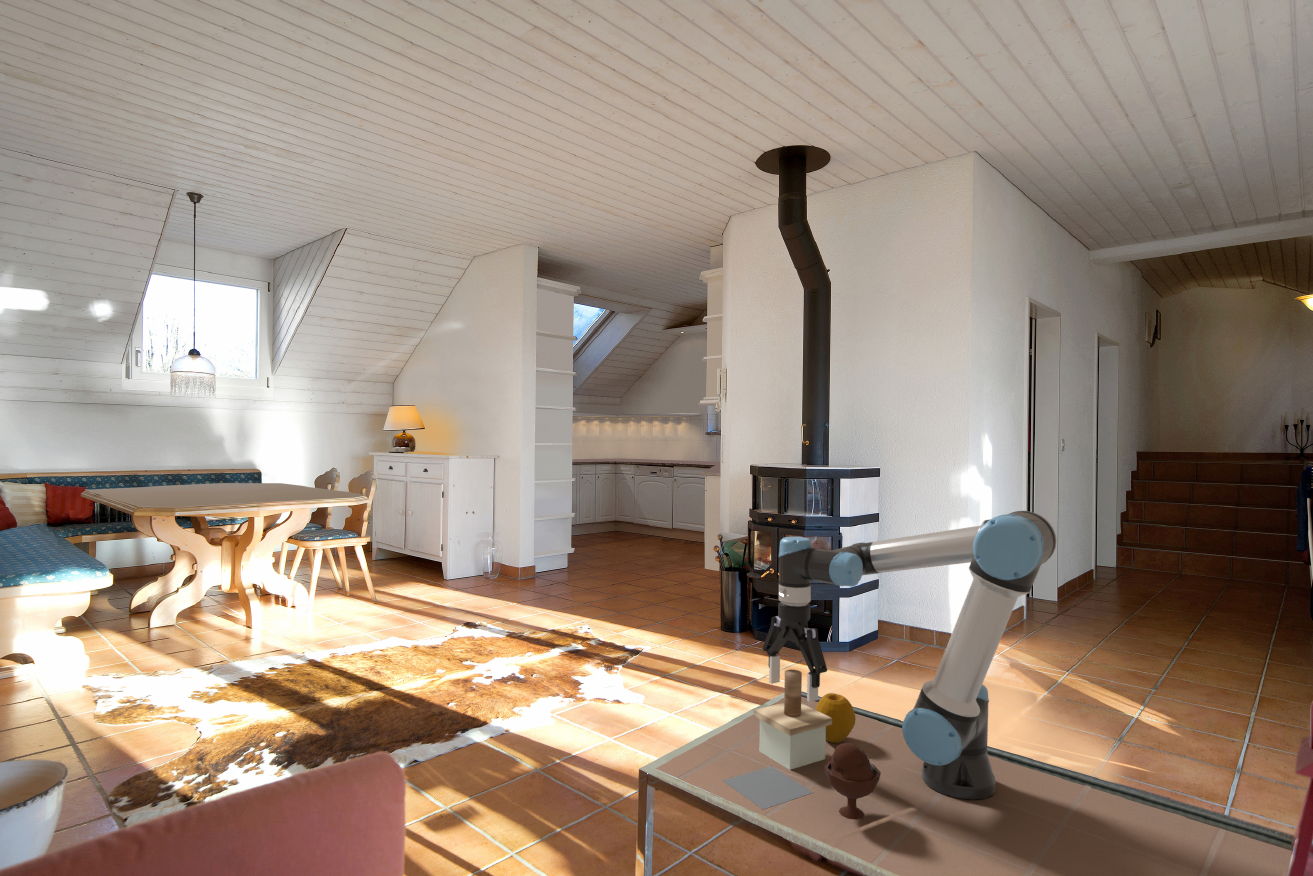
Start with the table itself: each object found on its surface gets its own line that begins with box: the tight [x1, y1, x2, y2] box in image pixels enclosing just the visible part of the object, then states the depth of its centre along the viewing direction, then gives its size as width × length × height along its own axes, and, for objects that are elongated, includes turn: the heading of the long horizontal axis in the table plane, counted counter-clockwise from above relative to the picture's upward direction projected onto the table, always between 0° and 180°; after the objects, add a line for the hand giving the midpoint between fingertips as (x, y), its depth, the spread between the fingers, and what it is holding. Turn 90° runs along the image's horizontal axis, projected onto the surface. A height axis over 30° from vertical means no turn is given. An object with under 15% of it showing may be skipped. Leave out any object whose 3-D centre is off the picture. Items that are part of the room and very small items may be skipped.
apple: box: [815, 692, 856, 744], centre depth 185 cm, size 10×10×12 cm
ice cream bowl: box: [823, 742, 882, 821], centre depth 149 cm, size 11×11×15 cm
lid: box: [753, 669, 832, 736], centre depth 175 cm, size 13×13×12 cm
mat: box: [722, 765, 815, 810], centre depth 160 cm, size 14×14×1 cm
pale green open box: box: [758, 719, 827, 771], centre depth 175 cm, size 11×11×9 cm
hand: (792, 691), depth 175 cm, fingers open, 13 cm apart
